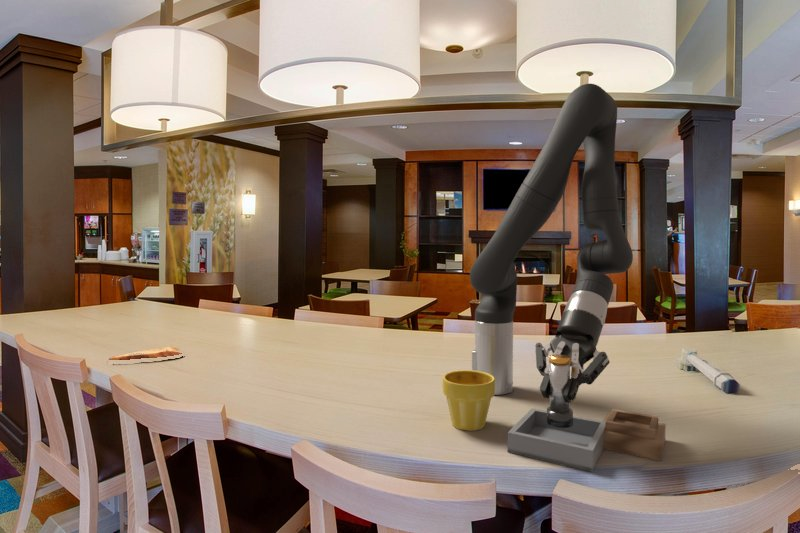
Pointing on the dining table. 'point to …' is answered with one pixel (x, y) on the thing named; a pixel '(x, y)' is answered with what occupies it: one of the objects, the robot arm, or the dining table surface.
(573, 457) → the tray
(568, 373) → the gold-capped glass canister
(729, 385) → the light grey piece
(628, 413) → the brown square open box
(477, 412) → the plant pot
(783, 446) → the dining table surface
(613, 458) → the dining table surface
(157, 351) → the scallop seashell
